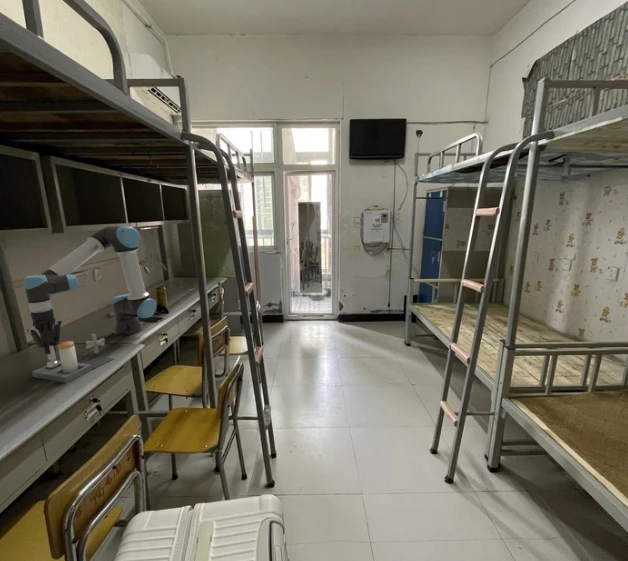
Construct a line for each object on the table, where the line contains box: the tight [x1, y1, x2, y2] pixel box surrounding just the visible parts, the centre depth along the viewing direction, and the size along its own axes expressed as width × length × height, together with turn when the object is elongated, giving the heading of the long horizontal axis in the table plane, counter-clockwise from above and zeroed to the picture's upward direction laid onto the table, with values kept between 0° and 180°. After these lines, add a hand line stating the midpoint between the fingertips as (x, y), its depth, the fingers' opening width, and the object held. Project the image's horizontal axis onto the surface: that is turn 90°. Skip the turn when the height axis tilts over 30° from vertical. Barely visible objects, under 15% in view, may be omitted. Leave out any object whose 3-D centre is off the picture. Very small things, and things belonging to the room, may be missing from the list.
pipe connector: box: [85, 333, 106, 354], centre depth 162 cm, size 10×10×10 cm
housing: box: [32, 359, 94, 384], centre depth 142 cm, size 12×20×2 cm, turn 73°
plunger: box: [46, 359, 59, 370], centre depth 143 cm, size 4×4×4 cm
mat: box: [83, 356, 115, 370], centre depth 152 cm, size 10×10×1 cm
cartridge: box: [57, 340, 79, 375], centre depth 139 cm, size 6×6×15 cm
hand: (52, 359), depth 143 cm, fingers closed
